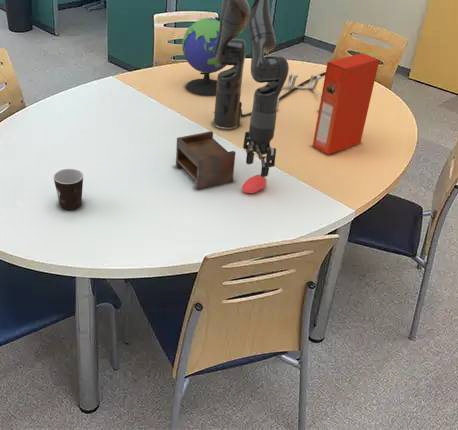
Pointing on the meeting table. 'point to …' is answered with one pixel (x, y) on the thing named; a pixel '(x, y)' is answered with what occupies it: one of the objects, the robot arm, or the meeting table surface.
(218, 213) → the meeting table surface
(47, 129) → the meeting table surface
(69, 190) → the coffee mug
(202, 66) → the globe
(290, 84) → the over door rack
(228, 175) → the rack
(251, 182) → the red rounded oblong piece
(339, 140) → the file binder
